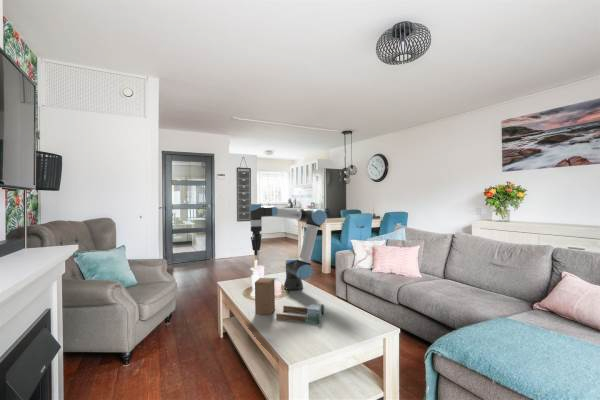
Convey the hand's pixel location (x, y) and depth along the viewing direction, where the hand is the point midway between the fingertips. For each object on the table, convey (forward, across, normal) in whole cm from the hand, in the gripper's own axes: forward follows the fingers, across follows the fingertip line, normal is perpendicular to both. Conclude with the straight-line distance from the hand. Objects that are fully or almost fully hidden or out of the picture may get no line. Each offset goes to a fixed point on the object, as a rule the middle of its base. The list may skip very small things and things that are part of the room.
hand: (256, 259), depth 197 cm
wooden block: (+30, +14, +12) cm, 35 cm away
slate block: (+30, +16, +45) cm, 56 cm away
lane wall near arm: (+29, +10, +36) cm, 48 cm away
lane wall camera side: (+29, +22, +36) cm, 52 cm away
